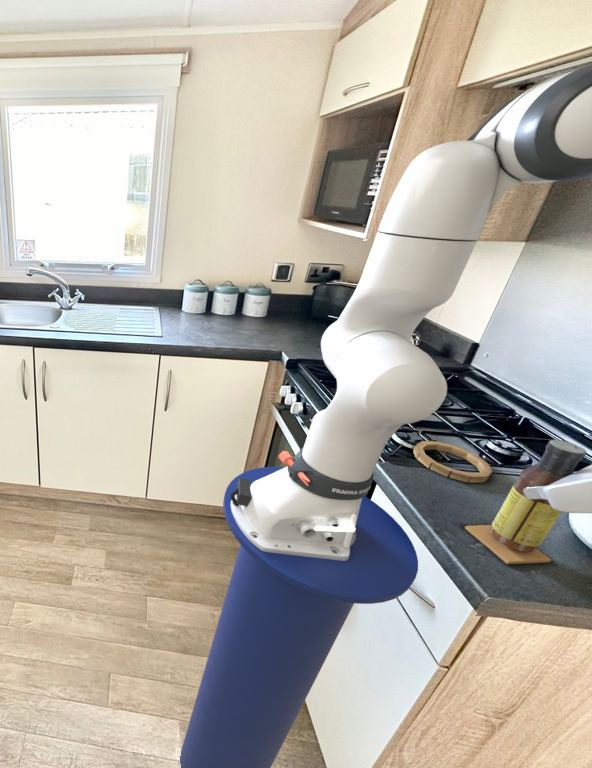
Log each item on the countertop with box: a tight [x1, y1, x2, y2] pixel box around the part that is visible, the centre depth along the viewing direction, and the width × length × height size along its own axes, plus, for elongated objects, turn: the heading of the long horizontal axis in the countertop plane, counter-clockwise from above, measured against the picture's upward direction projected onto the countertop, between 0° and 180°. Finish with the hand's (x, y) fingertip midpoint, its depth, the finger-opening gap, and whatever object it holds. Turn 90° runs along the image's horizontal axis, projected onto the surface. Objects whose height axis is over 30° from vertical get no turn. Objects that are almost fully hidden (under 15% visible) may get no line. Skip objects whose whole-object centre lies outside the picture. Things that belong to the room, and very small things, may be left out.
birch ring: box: [412, 440, 493, 484], centre depth 94 cm, size 13×13×2 cm
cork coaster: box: [464, 524, 552, 565], centre depth 73 cm, size 8×8×1 cm
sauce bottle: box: [491, 439, 587, 553], centre depth 68 cm, size 7×6×20 cm
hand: (538, 487), depth 68 cm, fingers closed on sauce bottle, 6 cm apart
